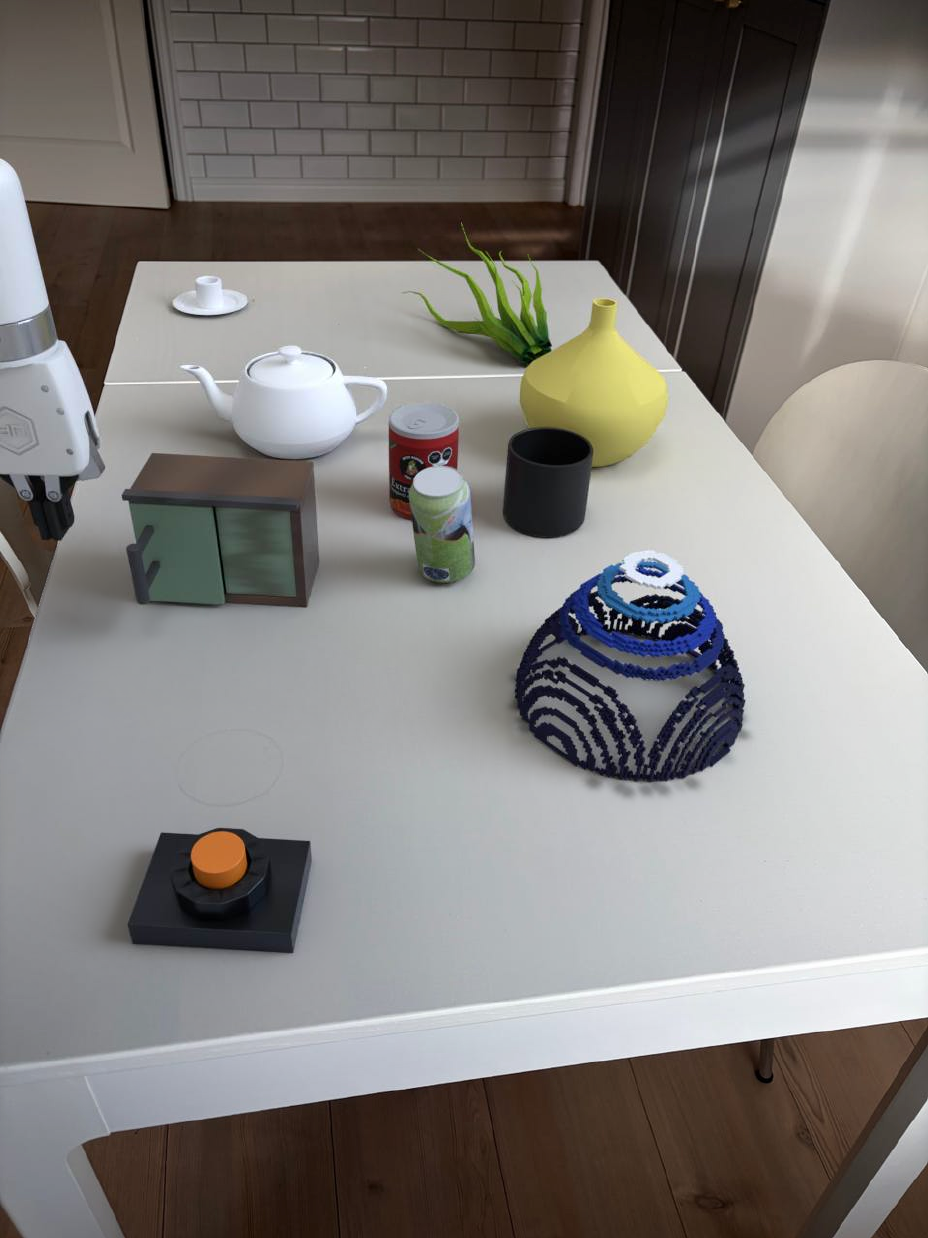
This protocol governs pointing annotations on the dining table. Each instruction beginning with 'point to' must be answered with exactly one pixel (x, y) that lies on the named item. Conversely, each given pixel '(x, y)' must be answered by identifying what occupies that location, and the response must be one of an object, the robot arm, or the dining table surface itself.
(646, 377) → the vase
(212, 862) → the button
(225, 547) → the closet
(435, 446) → the canned food
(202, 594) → the closet door
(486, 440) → the dining table surface
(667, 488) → the dining table surface
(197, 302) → the candle holder
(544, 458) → the mug
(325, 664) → the dining table surface
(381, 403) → the teapot
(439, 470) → the beverage can
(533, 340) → the decorative plant
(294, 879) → the switch block
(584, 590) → the decorative bowl
